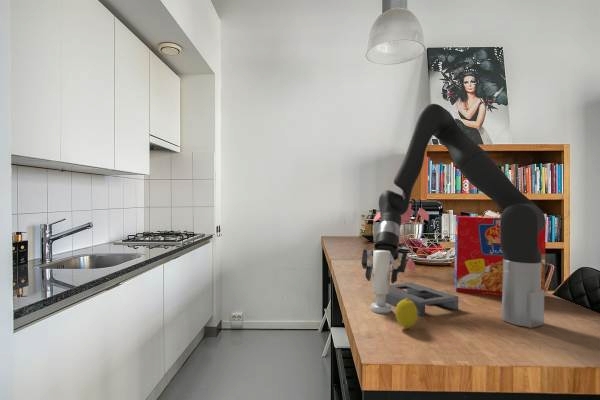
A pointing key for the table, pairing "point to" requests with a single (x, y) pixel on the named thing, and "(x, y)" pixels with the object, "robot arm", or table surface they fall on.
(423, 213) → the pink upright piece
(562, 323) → the table surface
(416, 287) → the keyhole plate
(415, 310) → the lemon
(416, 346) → the table surface
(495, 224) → the pasta box
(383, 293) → the footed peg
